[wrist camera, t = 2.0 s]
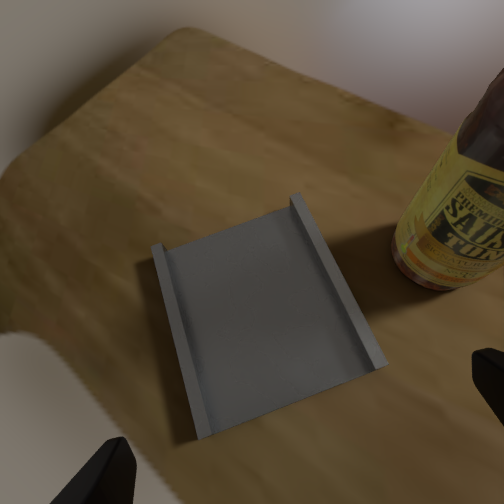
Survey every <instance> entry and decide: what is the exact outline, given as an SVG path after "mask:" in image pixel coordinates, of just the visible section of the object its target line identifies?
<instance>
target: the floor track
mask: <svg viewBox="0 0 504 504" xmlns="http://www.w3.org/2000/svg"><path fill="white" fill-rule="evenodd" d="M151 250H152V254H153V258H154V262H155V266H156V270H157V274H158V278H159V282H160V286H161V290H162V294H163V298H164V303H165V307H166V311H167V315H168V319H169V323H170V327H171V331H172V335H173V339H174V343H175V347H176V351H177V355H178V359H179V364H180V368H181V372H182V376H183V380H184V384H185V388H186V392H187V396H188V400H189V404H190V408H191V412H192V416H193V420H194V424H195V429H196V433H197V437H198V440H200V439H203V438H206V437H209V436H211V435H214V434H216V433H219V432H221V431H224V430H226V429H229V428H231V427H234V426H236V425H239V424H241V423H244V422H246V421H249V420H251V419H254V418H256V417H259V416H261V415H264V414H267V413H269V412H272V411H274V410H277V409H279V408H282V407H284V406H287V405H289V404H292V403H294V402H297V401H299V400H302V399H304V398H307V397H309V396H312V395H314V394H317V393H319V392H322V391H325V390H327V389H330V388H332V387H335V386H337V385H340V384H342V383H345V382H347V381H350V380H352V379H355V378H357V377H360V376H362V375H365V374H367V373H370V372H372V371H375V370H378V369H380V368H382V367H384V366H386V365H389V364H388V362H387V360H386V358H385V356H384V354H383V352H382V350H381V348H380V347H379V345H378V343H377V341H376V339H375V337H374V335H373V333H372V331H371V329H370V327H369V325H368V323H367V321H366V319H365V318H364V316H363V314H362V312H361V310H360V308H359V306H358V304H357V302H356V300H355V298H354V296H353V294H352V292H351V290H350V289H349V287H348V285H347V283H346V281H345V279H344V277H343V275H342V273H341V271H340V269H339V267H338V265H337V263H336V261H335V259H334V258H333V256H332V254H331V252H330V250H329V248H328V246H327V244H326V242H325V240H324V238H323V236H322V234H321V232H320V230H319V229H318V227H317V225H316V223H315V221H314V219H313V217H312V215H311V213H310V211H309V209H308V207H307V205H306V203H305V201H304V200H303V198H302V196H301V194H300V192H299V193H296V194H293V195H291V196H290V206H289V207H286V208H283V209H281V210H278V211H275V212H272V213H270V214H267V215H264V216H261V217H259V218H256V219H253V220H250V221H248V222H245V223H242V224H240V225H237V226H234V227H231V228H229V229H226V230H223V231H220V232H218V233H215V234H212V235H209V236H207V237H204V238H201V239H198V240H196V241H193V242H190V243H188V244H185V245H182V246H179V247H177V248H174V249H171V250H168V251H167V249H166V248H165V247H164V246H163V244H162V243H159V244H156V245H153V246H151Z"/></svg>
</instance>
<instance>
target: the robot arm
mask: <svg viewBox="0 0 504 504" xmlns="http://www.w3.org/2000/svg"><path fill="white" fill-rule="evenodd" d="M472 378H473V382H474V384H475V386H476V388H477V389H478V391H479V392H480V394H481V395H482V396H483V398H484V399H485V401H486V402H487V403H488V405H489V406H490V408H491V409H492V410H493V412H494V413H495V415H496V416H497V418H498V419H499V420H500V422H501V423H502V425H503V426H504V352H501V351H499V350H496V349H493V348H485V349H480V350H476V351H474V352H473V353H472ZM136 470H137V464H136V459H135V456H134V454H133V452H132V450H131V448H130V446H129V444H128V442H127V440H126V438H124V437H116V438H112V439H109V440H107V441H106V442H105V443H104V444H103V445H102V446H101V447H100V448H99V449H98V451H97V452H96V453H95V454H94V455H93V456H92V457H91V458H90V459H89V460H88V462H87V463H86V464H85V465H84V466H83V467H82V468H81V470H79V472H78V473H77V474H76V475H75V476H74V477H73V478H72V479H71V481H70V482H69V483H68V484H67V485H66V486H65V487H64V488H63V489H62V491H61V492H60V493H59V494H58V495H57V496H56V497H55V498H54V499H53V501H52V502H51V503H50V504H133V497H134V488H135V479H136Z"/></svg>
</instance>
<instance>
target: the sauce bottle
mask: <svg viewBox="0 0 504 504" xmlns="http://www.w3.org/2000/svg"><path fill="white" fill-rule="evenodd" d="M391 252H392V256H393V258H394V262H395V263H396V265H397V267H398V268H399V269H400V271H401V272H402V273H403V274H404V275H406V276H407V277H408V278H409V279H411V280H412V281H414V282H416V283H417V284H419V285H422V286H423V287H425V288H431V289H433V290H436V291H439V290H450V289H457V288H460V287H463V286H468V285H471V284H473V283H476V282H478V281H479V280H481V279H483V278H484V277H486V276H487V275H489V274H491V273H492V272H494V271H495V270H497V269H498V268H500V267H502V266H503V265H504V68H503V69H502V71H501V72H500V73H499V74H498V75H497V77H496V78H495V79H494V80H493V81H492V82H491V84H490V85H489V87H488V89H487V91H486V93H485V94H484V96H483V98H482V99H481V100H480V101H479V104H478V105H477V107H476V108H475V110H474V111H473V112H471V113H470V114H469V115H468V116H467V117H466V118H465V120H464V121H463V123H462V124H461V125H460V127H459V129H458V130H457V132H456V133H455V135H454V136H453V138H452V139H451V141H450V142H449V144H448V146H447V147H446V149H445V150H444V152H443V153H442V155H441V157H440V158H439V160H438V161H437V163H436V164H435V166H434V167H433V169H432V171H431V172H430V174H429V175H428V177H427V178H426V180H425V181H424V183H423V184H422V186H421V187H420V189H419V190H418V192H417V193H416V195H415V196H414V198H413V200H412V201H411V203H410V204H409V206H408V207H407V209H406V210H405V212H404V214H403V215H402V217H401V218H400V220H399V222H398V224H397V228H396V230H395V232H394V235H393V238H392V242H391Z"/></svg>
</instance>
